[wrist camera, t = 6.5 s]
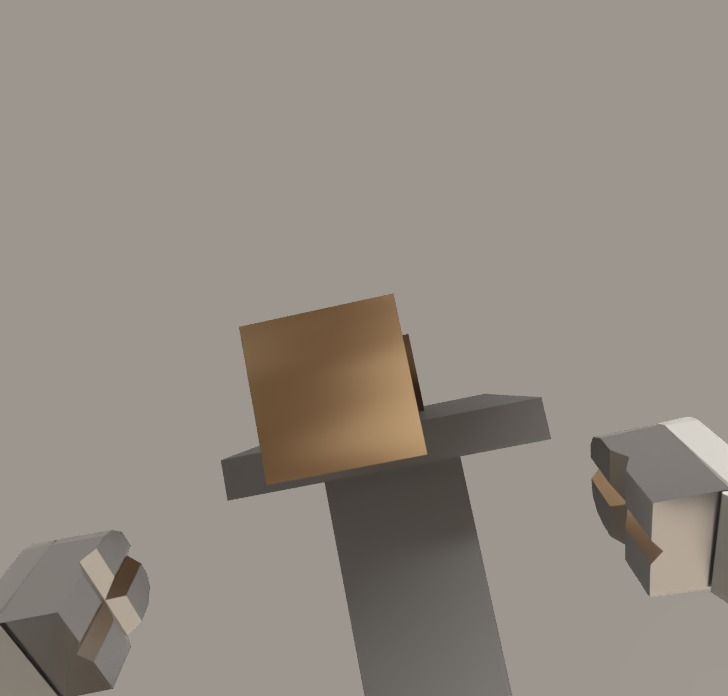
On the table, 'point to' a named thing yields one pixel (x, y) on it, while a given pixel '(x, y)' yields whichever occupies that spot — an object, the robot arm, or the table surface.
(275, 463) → the oak shaft
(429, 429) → the charcoal stand
